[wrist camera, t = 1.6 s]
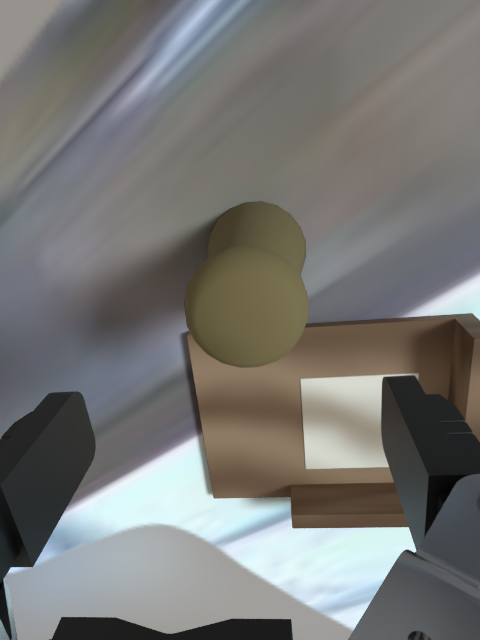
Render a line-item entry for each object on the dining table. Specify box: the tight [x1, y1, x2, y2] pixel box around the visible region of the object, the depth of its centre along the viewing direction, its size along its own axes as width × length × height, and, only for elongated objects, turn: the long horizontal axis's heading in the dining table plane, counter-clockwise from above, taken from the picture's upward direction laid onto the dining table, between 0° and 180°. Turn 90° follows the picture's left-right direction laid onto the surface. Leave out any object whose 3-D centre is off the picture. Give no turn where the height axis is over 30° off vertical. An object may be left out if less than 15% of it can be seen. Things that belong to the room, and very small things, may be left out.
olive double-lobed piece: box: [184, 201, 308, 368], centre depth 22 cm, size 6×6×11 cm
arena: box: [187, 314, 480, 528], centre depth 30 cm, size 14×18×4 cm
